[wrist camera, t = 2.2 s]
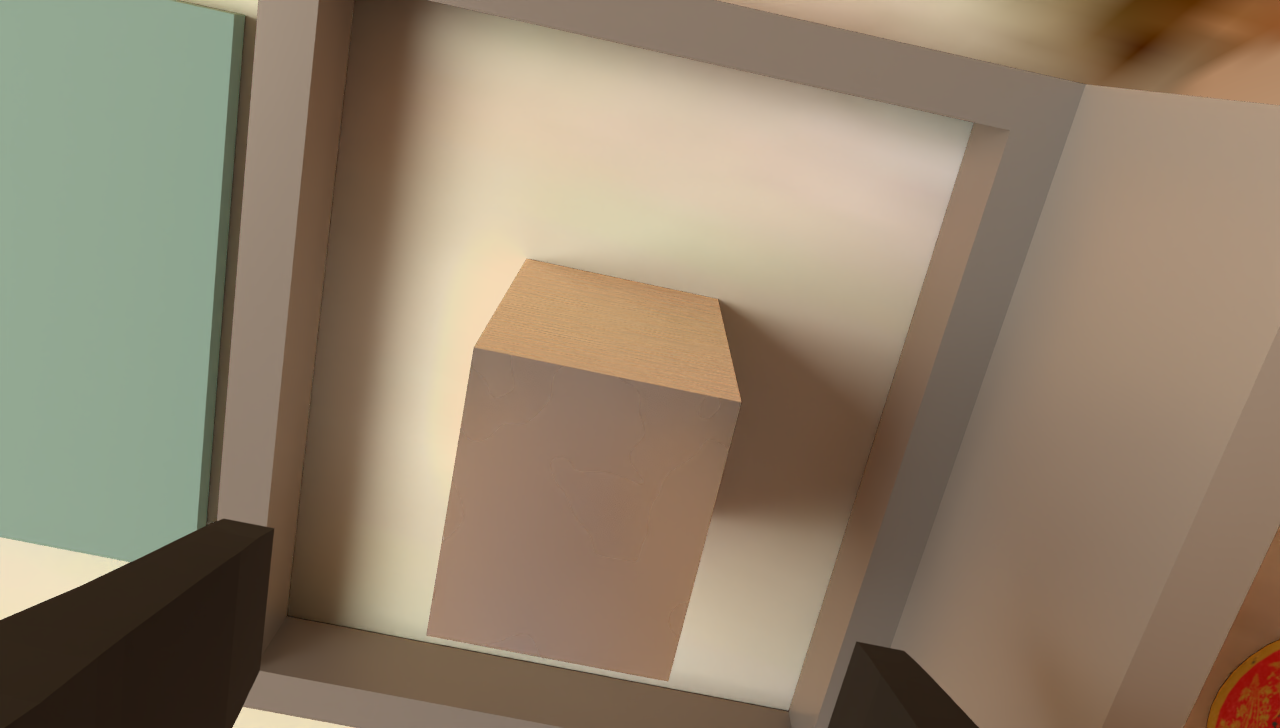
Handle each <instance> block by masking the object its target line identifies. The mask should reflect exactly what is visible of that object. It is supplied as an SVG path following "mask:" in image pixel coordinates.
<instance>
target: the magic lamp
mask: <svg viewBox="0 0 1280 728" xmlns="http://www.w3.org/2000/svg"><path fill="white" fill-rule="evenodd" d="M1207 728H1280V640H1277V641H1275V642H1273V643H1271V644H1269V645H1267V646H1266V647H1264V648H1262V649H1261V650H1259V651H1258V652H1256V653H1255V654H1253V655H1252V656H1250V657H1249V658H1248V659H1247V660H1246V661H1244V662H1243V663H1242V664H1241V665H1240V666H1239V667H1238V668H1237V669H1236V670H1235V671H1233V673H1232V674H1231V675H1230V676H1229V678H1228V679H1227V680H1226V682H1225V683H1224V684H1223V685H1222V687H1221V688H1220V690H1219V692H1218V694H1217V696H1216V698H1215V700H1214V702H1213V704H1212V706H1211V710H1210V714H1209V717H1208V721H1207Z"/></svg>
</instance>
